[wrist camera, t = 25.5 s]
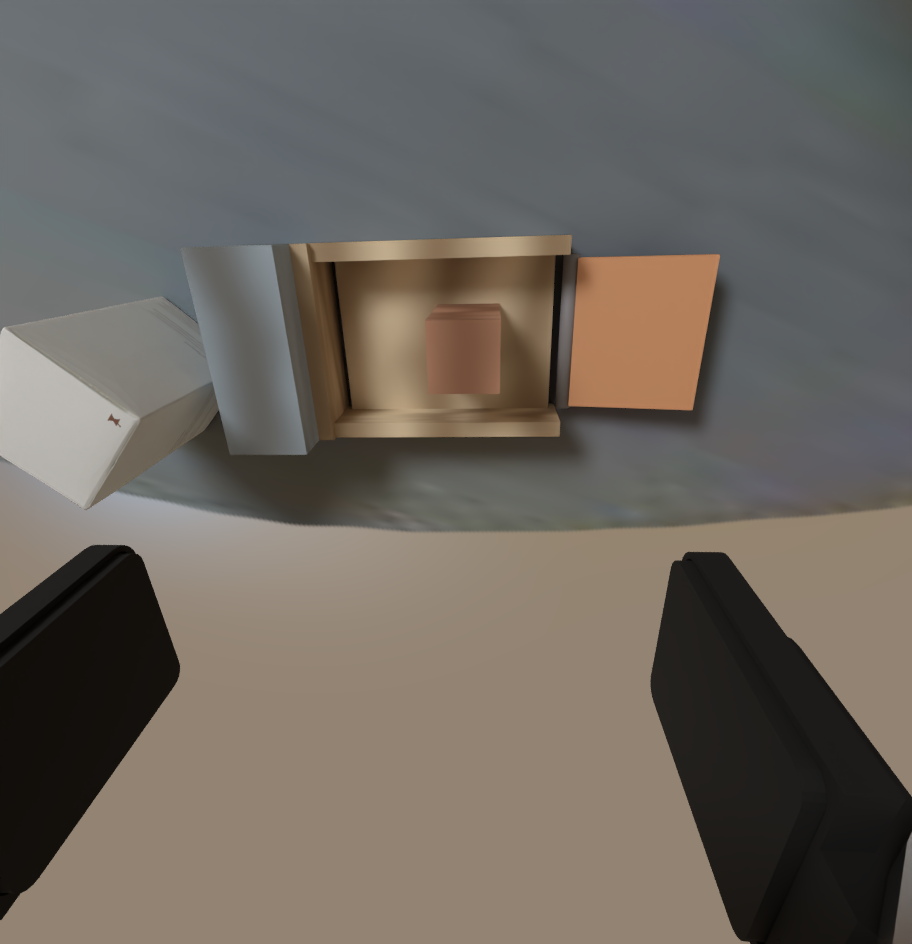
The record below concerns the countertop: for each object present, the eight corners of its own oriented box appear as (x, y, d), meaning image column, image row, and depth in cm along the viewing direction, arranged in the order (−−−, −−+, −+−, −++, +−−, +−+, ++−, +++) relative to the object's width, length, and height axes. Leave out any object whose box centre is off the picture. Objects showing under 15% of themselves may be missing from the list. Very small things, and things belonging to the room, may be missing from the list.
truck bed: (562, 234, 32) (580, 234, 25) (552, 416, 37) (565, 454, 30) (239, 245, 33) (180, 248, 27) (273, 418, 38) (230, 455, 32)
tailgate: (563, 254, 32) (716, 250, 30) (555, 404, 36) (688, 408, 34) (563, 255, 31) (720, 251, 29) (554, 408, 35) (691, 413, 33)
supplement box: (162, 292, 35) (0, 319, 23) (252, 364, 36) (143, 422, 25) (117, 370, 37) (-48, 429, 26) (204, 434, 39) (85, 515, 28)
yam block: (499, 303, 33) (500, 319, 26) (498, 364, 34) (499, 393, 28) (437, 304, 33) (424, 320, 27) (440, 365, 35) (428, 394, 28)
